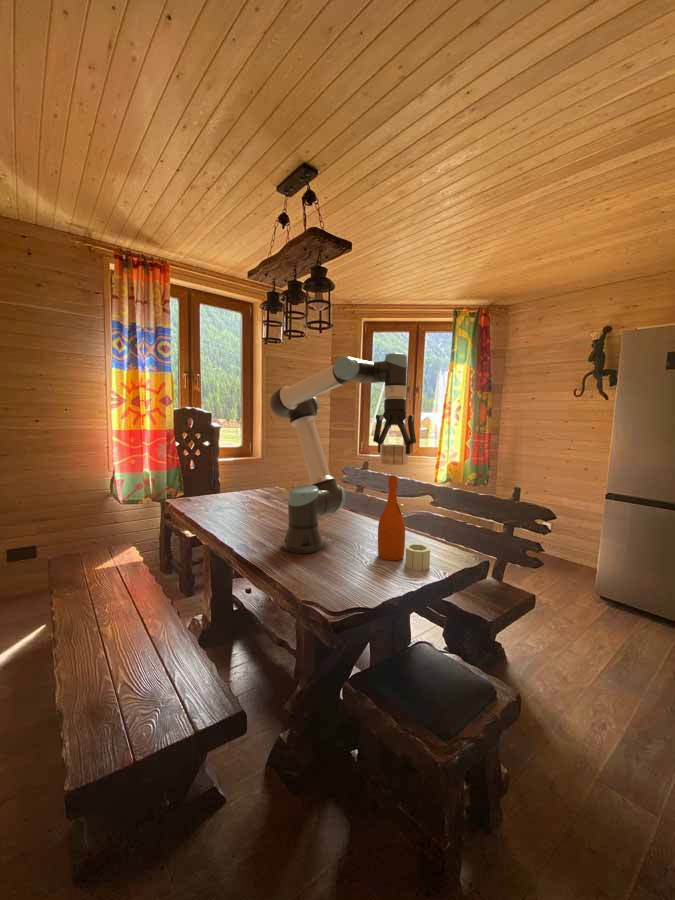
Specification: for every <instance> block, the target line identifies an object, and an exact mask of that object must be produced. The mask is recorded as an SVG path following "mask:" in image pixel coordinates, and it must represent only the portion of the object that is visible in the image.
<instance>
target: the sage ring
mask: <svg viewBox="0 0 675 900" xmlns="http://www.w3.org/2000/svg"><path fill="white" fill-rule="evenodd" d="M430 560H431V548H430V546H429V545H426V544H423V543H415V542H414V543H409V544H406V545H405V564H404V565H405V566H404V567H405V568H407V569H409V570H412V571H419V572H420V571H421V572H422V570H423V572H424V571H427V570H429V569H430V566H431V565H430V564H431V563H430ZM426 569H427V570H426Z"/></svg>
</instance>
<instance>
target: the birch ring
mask: <svg viewBox="0 0 675 900" xmlns="http://www.w3.org/2000/svg"><path fill="white" fill-rule="evenodd" d="M403 445H404V444H392V443H390V444H386V443H385V445H382V462H381V464H383V465H389V466H394V465H395V466H402V465H404V464H403Z"/></svg>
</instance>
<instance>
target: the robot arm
mask: <svg viewBox="0 0 675 900" xmlns="http://www.w3.org/2000/svg"><path fill="white" fill-rule="evenodd" d="M407 359H408V358H407V355H406V354H405V353H401V352H391V353H387V354H385V357H384V360H381V361H369V360H366V359H365V360H364V359H361V358H356V357H353V356H346V355H342V356H339V357H338V358H337V359H336V361H334V364H333V365H332V366H329V367H326V368H325V369H323V370H321V371H318V372H317V373H314V374H312V375H310V376H308V377H306V378H304V379H303V380H300V381H298V382H296V383H294V384H292V385H285V386H282V387H280V388H278V389H276V390H275V391H274V392H272V394H271V395H270V398H269V408H270V410H271V411H272V413H273V414H274V415H275V416H277V417H279V418H282V419H289V423H290V425H291V426H292V427H294V428H295V429H296V434H297V437H298V441H299V445H300V448H301V452H302V456H303V459H304V462H305V467H306V470H307V472H308V473H307V474H308V476H309V477H308V478H309V479H310V482H309V484H305V485H304V484H303V485H298V486H295V487H293V488H291V489H290V490H289V492H288V498H287V502H288V504H287V506H288V507H287V512H288V513H287V515H288V517H287V518H288V519H287V520H288V521H287V522H288V525H287V531H286V533H285V538H284V540H283V549H284V550H285V551H288V552H290V553H295V554H309V553H310V554H311V553H315V552H317V551H318V552H319V551H321V549H323V546H324V543H323V538H322V535H321V532H320V528H319V517H323V516H327V515H329V514H334V513H336V512H338V511H340V510H341V509H342V508H343V507H344V505H345V502H346V492H345V489H344V488H343V486H341V484H339V483H337V481H336V478H335V477H334V476H332V475H331V473H330V470H329V466H328V463H327V459H326V456H325V453H324V449H323V447H322V441H321V439H320V435H319V433H318V429H317V426H316V421H317V420H318V416H317V415H318V412H319V409H320V405H319V401H318V399H317V397H318V396H321V395H324V394H325V393H327V392H329V391H331V390H333V389H336V388H339V387H341V386H343V385H346V384H348V383H351V382H353V381H354V382H357V383H359V384H367V385H368V384H369V385H370V384H376V383H377V384H378V383H384V398H385V399H384V403H383V405H384V408H383V410H384V412H383V413H382V414H376V415H375V420H376V422H375V429H374V434H373V439H372V442H373V443H376V444H377V453H378V454H379V463H382V445H386V443H384V441H385V440H386V438H387V435H388V433H389V430H390V428H392V426H397V427H398V428H399V430H400V433H401V436H402V438H403V441H404V444H402V445H403V465H406V464H408V461H409V458H408V457H409V455H411V445H413V444H416V443H417V440H416V439H417V437H416V430H415V425H414V421H415V415H413V414H408V413H407V411H406V409H407V400H406V398H407V373H408V372H407V370H408V363H407ZM383 420H385V422H384V425H383ZM405 420H406V421H407V427H408V431H407V429H406V425H405V422H404V421H405ZM382 425H383V429H382ZM381 430H382V431H381Z"/></svg>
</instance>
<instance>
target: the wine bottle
mask: <svg viewBox="0 0 675 900" xmlns="http://www.w3.org/2000/svg"><path fill="white" fill-rule="evenodd" d="M398 479H399V478H398V476H397V475H392V474H391V475H389V476H388V482H387V484H388V485H387V488H388V495H387V501H386V504H385V506H384V508H383V511H382V513H381V515H380V518H379V520H378V527H377V554H378V557H380V558H381V559H383V560H386V561H393V562H394V561H398V560H399V561H400V560H402V559H403V558H404V557H405V550H406V545H405V544H406V523H405V519H404V516H403V513H402V512H403V508H402V504H401V503H400V501H398V495H397V489H398V486H399V484H398V481H399V480H398Z"/></svg>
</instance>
